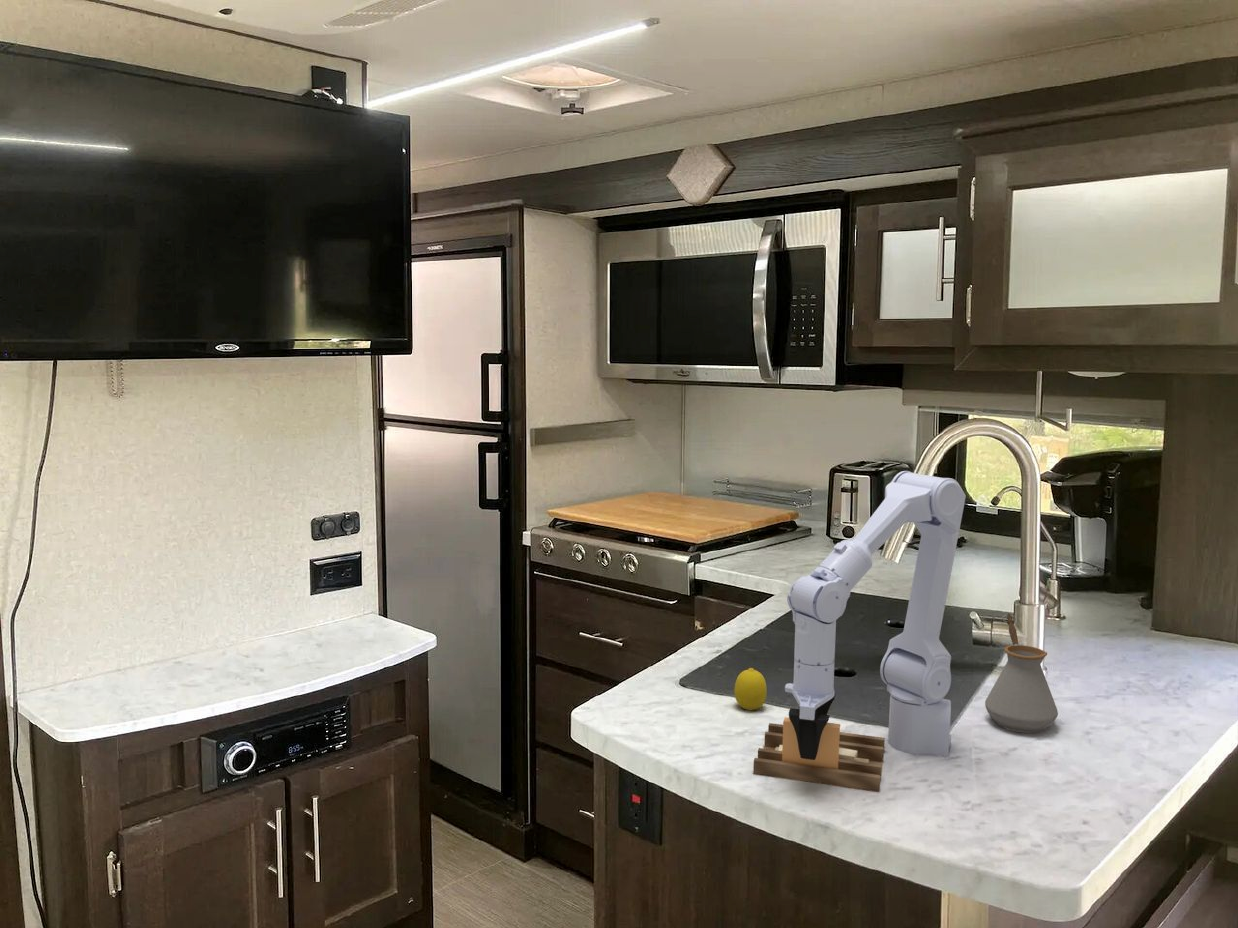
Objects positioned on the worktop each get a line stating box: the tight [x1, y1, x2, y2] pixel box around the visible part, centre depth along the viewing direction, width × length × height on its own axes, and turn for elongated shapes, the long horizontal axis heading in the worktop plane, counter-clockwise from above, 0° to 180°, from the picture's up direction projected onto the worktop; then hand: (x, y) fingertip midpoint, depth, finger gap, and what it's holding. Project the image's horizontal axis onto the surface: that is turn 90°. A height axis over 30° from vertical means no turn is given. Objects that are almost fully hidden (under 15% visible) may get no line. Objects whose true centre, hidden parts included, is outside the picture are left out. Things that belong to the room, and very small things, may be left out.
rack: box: [752, 722, 886, 793], centre depth 150 cm, size 18×16×3 cm
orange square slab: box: [782, 716, 841, 769], centre depth 145 cm, size 8×2×8 cm, turn 72°
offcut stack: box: [775, 745, 869, 763], centre depth 149 cm, size 14×4×2 cm, turn 72°
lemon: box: [734, 667, 768, 711], centre depth 170 cm, size 6×6×8 cm
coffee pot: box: [984, 613, 1059, 734], centre depth 171 cm, size 21×12×15 cm, turn 168°
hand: (810, 748), depth 145 cm, fingers open, 6 cm apart
